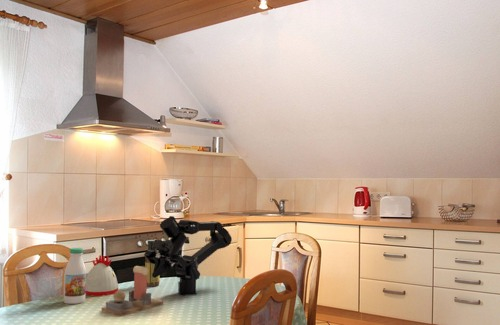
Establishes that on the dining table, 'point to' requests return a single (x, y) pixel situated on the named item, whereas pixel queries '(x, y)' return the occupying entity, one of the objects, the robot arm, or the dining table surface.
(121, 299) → the walnut
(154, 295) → the dining table surface
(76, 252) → the milk bottle
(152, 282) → the sauce bottle
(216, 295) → the dining table surface
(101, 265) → the white and red dome
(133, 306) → the base
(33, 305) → the dining table surface
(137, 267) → the lever
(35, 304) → the dining table surface
